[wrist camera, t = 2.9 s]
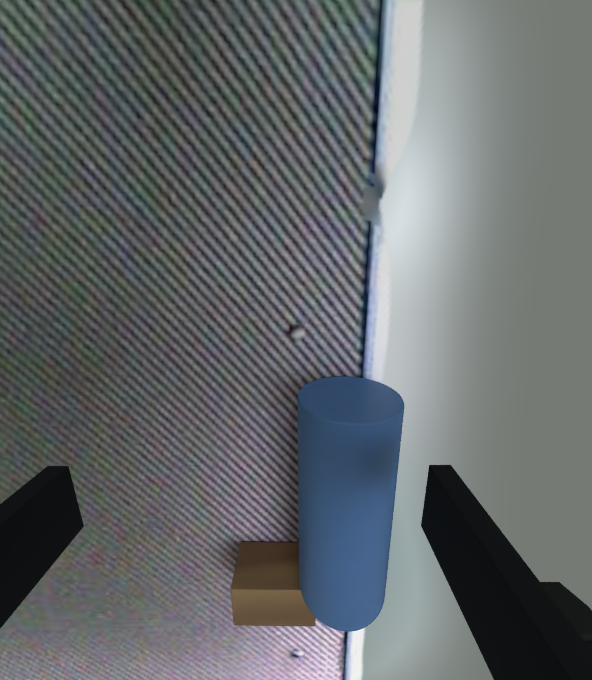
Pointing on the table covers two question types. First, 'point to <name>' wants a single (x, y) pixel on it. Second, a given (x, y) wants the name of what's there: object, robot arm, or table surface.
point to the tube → (346, 496)
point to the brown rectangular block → (268, 586)
